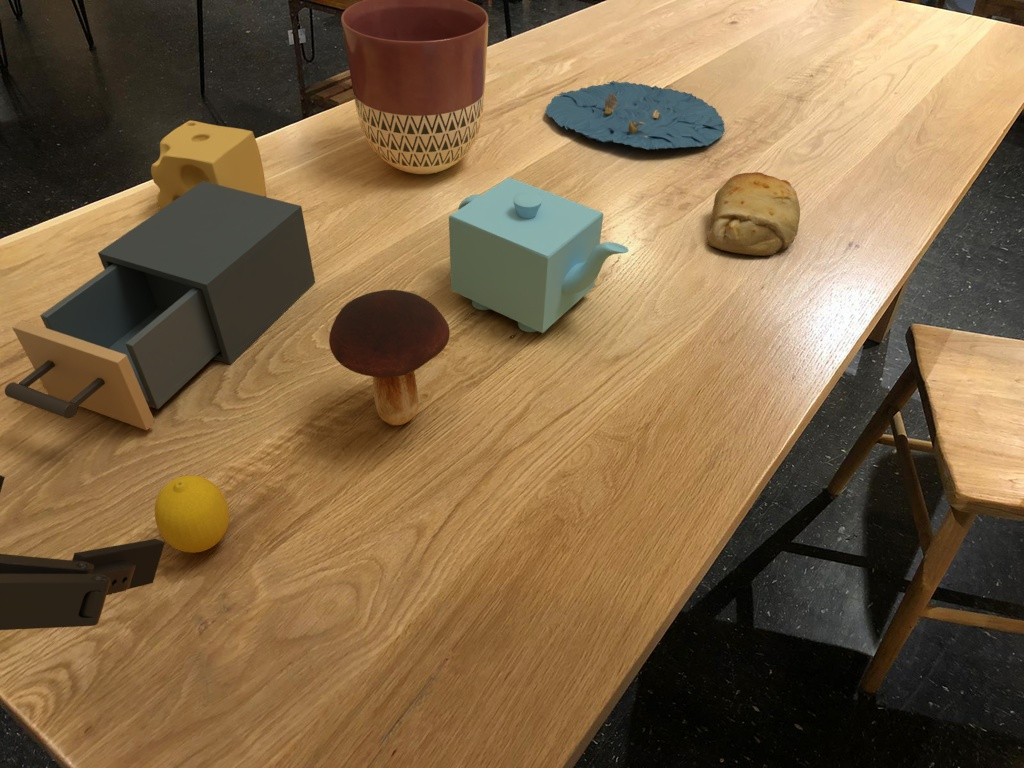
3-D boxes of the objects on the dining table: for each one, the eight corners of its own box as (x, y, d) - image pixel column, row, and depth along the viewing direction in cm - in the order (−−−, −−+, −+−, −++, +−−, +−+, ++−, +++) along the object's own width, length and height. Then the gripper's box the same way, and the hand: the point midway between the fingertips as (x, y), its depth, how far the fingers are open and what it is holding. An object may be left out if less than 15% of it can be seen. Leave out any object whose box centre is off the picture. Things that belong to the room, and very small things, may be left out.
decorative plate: (545, 89, 141) (546, 60, 138) (707, 94, 141) (712, 65, 137) (544, 157, 119) (545, 124, 116) (737, 163, 119) (744, 131, 115)
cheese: (162, 219, 103) (139, 150, 96) (208, 182, 111) (190, 115, 104) (230, 233, 101) (212, 163, 94) (272, 195, 109) (258, 127, 102)
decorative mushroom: (376, 475, 72) (358, 354, 61) (324, 407, 78) (300, 287, 68) (473, 427, 77) (472, 307, 66) (417, 366, 83) (407, 249, 73)
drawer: (109, 466, 70) (74, 398, 64) (7, 427, 74) (-35, 358, 68) (245, 337, 84) (227, 270, 78) (154, 308, 88) (130, 243, 82)
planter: (407, 211, 106) (396, 53, 92) (334, 159, 117) (313, 10, 102) (513, 170, 116) (518, 21, 101) (436, 125, 126) (431, -16, 112)
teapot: (433, 293, 93) (428, 191, 83) (488, 253, 99) (489, 154, 90) (588, 367, 84) (602, 261, 74) (637, 317, 90) (655, 214, 81)
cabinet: (230, 365, 82) (206, 284, 75) (129, 332, 86) (97, 252, 78) (315, 282, 94) (301, 205, 86) (223, 256, 97) (202, 180, 90)
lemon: (213, 578, 63) (187, 520, 58) (157, 559, 64) (126, 500, 59) (251, 527, 67) (230, 467, 62) (197, 509, 68) (172, 449, 63)
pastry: (762, 202, 111) (777, 151, 105) (818, 247, 102) (837, 194, 97) (679, 220, 107) (690, 167, 101) (730, 268, 98) (745, 213, 93)
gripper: (-108, 603, 27) (244, 533, 48) (-515, 403, 33) (-50, 418, 54) (-168, 806, 27) (210, 649, 48) (-564, 567, 33) (-81, 519, 54)
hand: (72, 526), depth 51 cm, fingers open, 13 cm apart
